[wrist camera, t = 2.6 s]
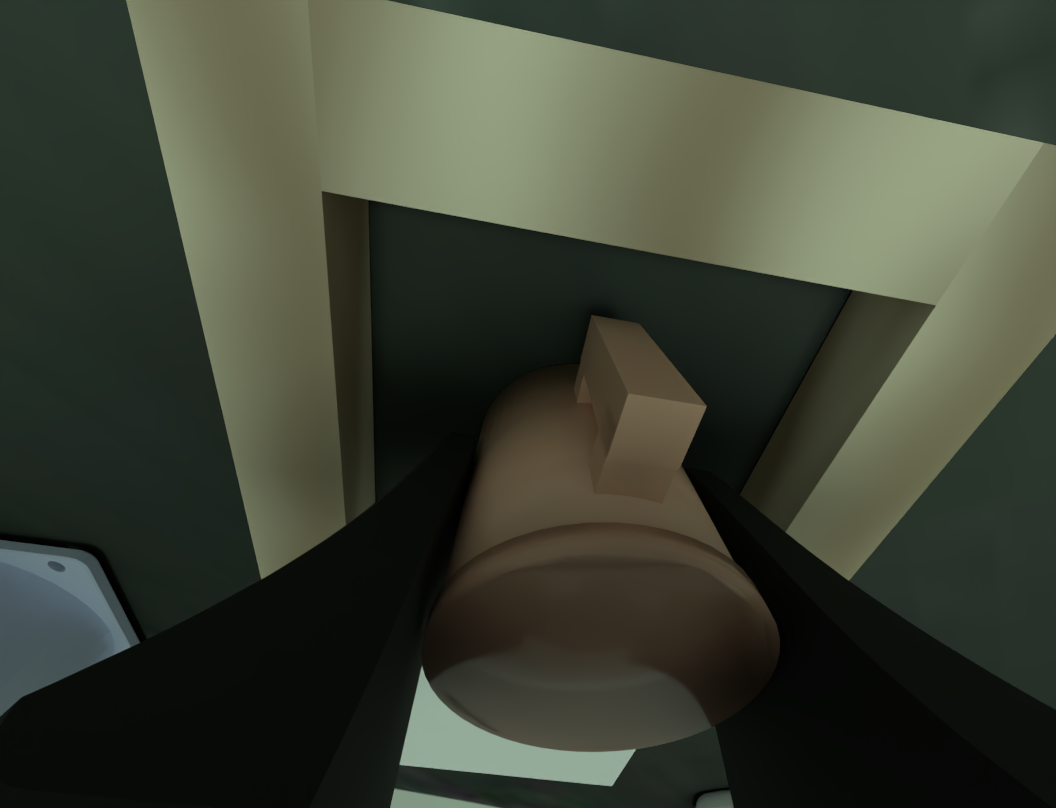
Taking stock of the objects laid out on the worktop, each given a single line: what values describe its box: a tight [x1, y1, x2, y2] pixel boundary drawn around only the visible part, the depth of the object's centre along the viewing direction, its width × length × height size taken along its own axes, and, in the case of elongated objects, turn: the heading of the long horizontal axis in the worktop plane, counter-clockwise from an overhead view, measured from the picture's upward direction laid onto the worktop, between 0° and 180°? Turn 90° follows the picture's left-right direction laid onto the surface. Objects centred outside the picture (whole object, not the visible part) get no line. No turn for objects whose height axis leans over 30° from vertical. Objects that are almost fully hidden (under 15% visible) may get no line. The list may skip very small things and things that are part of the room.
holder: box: [126, 0, 1056, 580], centre depth 10 cm, size 16×16×2 cm
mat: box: [400, 667, 636, 786], centre depth 18 cm, size 14×12×1 cm
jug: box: [421, 315, 780, 752], centre depth 8 cm, size 5×7×6 cm
